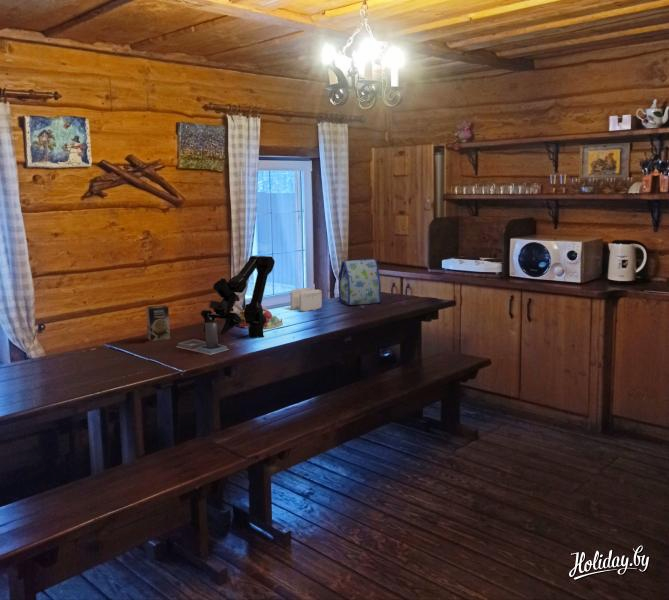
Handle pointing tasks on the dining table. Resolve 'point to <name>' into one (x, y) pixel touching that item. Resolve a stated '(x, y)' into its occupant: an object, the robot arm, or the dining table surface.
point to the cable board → (200, 347)
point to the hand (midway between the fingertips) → (213, 333)
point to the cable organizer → (306, 299)
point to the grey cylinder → (211, 335)
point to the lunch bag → (359, 282)
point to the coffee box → (158, 322)
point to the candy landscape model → (270, 322)
